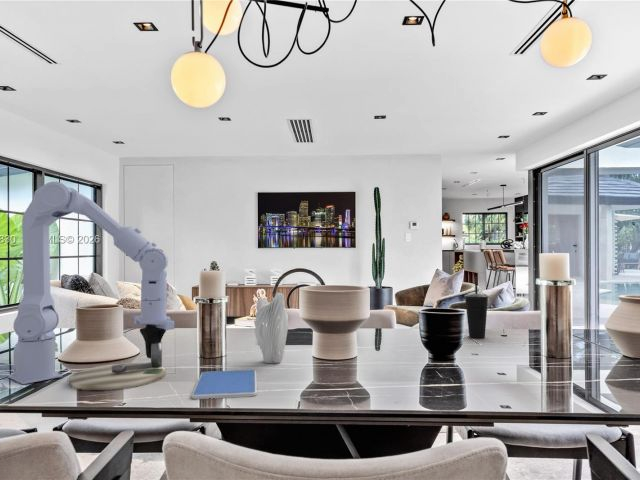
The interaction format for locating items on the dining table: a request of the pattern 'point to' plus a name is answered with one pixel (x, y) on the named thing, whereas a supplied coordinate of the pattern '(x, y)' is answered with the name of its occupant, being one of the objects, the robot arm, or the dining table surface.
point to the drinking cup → (476, 312)
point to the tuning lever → (155, 363)
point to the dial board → (114, 378)
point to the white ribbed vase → (271, 328)
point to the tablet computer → (226, 384)
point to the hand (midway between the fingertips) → (152, 357)
